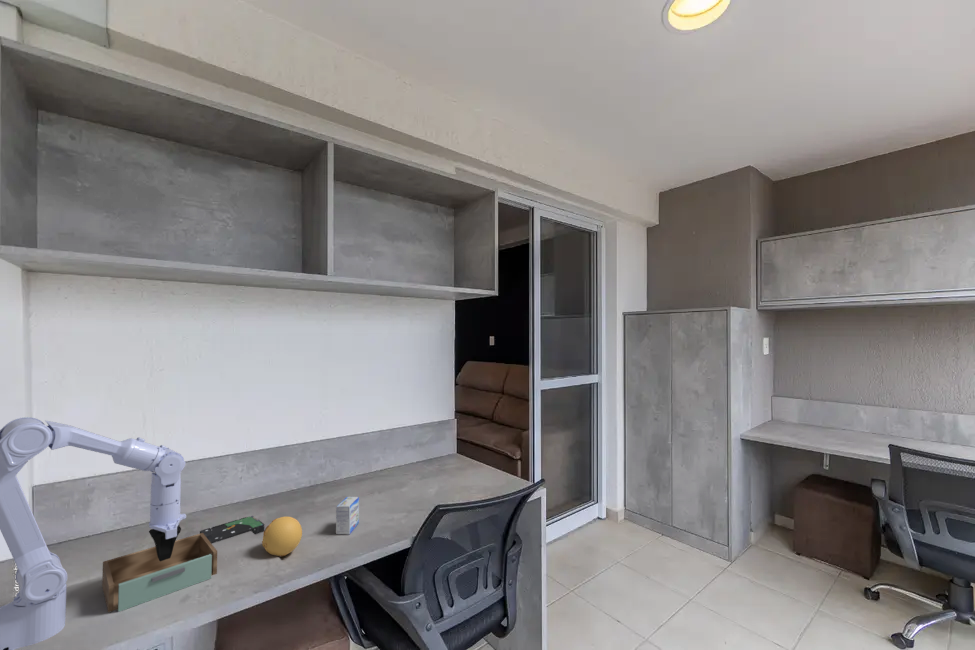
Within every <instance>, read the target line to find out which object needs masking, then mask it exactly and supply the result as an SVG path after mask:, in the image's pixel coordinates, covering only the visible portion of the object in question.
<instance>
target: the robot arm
mask: <svg viewBox="0 0 975 650" xmlns="http://www.w3.org/2000/svg"><path fill="white" fill-rule="evenodd" d="M45 423H46V424H47V425H46V424H45ZM45 423H44V422H43V421H42V420H40V419H38V418H37V417H32V416H31V417H29V416H27V417H26V416H25V417H19V418H15V419H12V420H11V421H9V422H7V423H6V424H5V425H4V426H3V427H2V428H1V429H0V532H1V534H2V537H3V539H4V541H5V543H6V545H7V548H8V550H9V552H10V554H11V556H12V558H13V561H14V563H15V566H16V568H17V569H16V572H15V581H16V583H17V584H18V587H19V591H18V592H17V594H16V595H15V597H13V600H12V601H11V602H9V603H6V604H4V605H1V606H0V650H18V649H20V648H24V647H27V646H31V645H35V644H39V643H40V642H44V641H46V640H48V639H50V638H52V637H53V636H56V635H57V634H59V633H60V632H61V631H63V629H64V628H65V626H66V615H67V614H66V613H67V611H66V610H67V608H66V607H67V586H68V585H67V581H68V573H67V571H66V569H65V568H64V567H63V565H62V563H61V558H60V557H59V555H58V554H56V553H53V552H51V550H49V548H48V545H47V543H46V541H45V539H44V536H43V534H42V531H41V529H40V528H39V527H40V526H39V525H38V523H37V520H36V518H35V515H34V514H33V511H32V509H31V507H30V504H29V501H28V500H27V498H26V495H25V493H24V490H23V489H22V487H21V484H20V481H19V480H18V477H17V475H18V474H19V472H20V471H21V470H22V469H23V468H24V466H25V465H26V464H27V463H28V462H29V461H30V460H31V459H33V458H34V457H36V456H37V455H39V454H40V453H42V452H43V451H44V450H46V449H48V447H49V449H50V450H51V451H52V450H53V451H54V450H58V449H61V448H65V447H69V446H70V447H73V448H79V449H83V450H87V451H90V452H96V453H99V454H102V455H103V454H104V455H108V456H111V458H112V460H113V463H114V464H116V465H120V466H124V467H126V468H127V467H128V468H131V469H136V470H138V471H139V470H140V471H142V472H143V471H144V472H149V471H150V472H151V483H150V505H149V507H150V508H149V522H148V528H150V530H149V531H148V533H149V535H150V537H151V539H152V540H153V542H154V547H155V546H156V551H157V556H158V559H159V561H163V560H166V559H169V558H170V557H171V555H172V551H173V547H174V543H175V541H176V540H177V538H178V536H179V534H180V533H181V531H182V527H181V526H180V524H181V522H182V520H186V518H187V514H186V513H181V498H182V496H181V495H182V494H181V493H182V491H181V490H182V489H181V488H182V476H181V475H182V471H183V470H184V468H185V467H186V463H187V462H186V461H185V459H184V456H183V455H182V454H181V453H179V452H177V451H175V450H173V449H171V448H169V447H167V446H166V445H164V444H161V445H155V444H154V443H153V444H152V443H149V442H146V439H144V438H142V437H137V438H133V437H131V438H127V439H125V440H124V439H123V440H116V439H113V438H110V437H107V436H104V435H100V434H98V433H95V432H92V431H89V430H86V429H84V428H80V427H76V426H73V425H69V424H65V423H62V422H61V423H60V422H56V421H51V420H45Z"/></svg>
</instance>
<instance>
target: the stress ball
mask: <svg viewBox="0 0 975 650" xmlns="http://www.w3.org/2000/svg"><path fill="white" fill-rule="evenodd" d="M262 533H263V535H262V541H261V545H262V548H264V549H265V551H266V552H267V553H269V554H270V555H272V556H277V557H279V558H281V557H286V556H287V555H288V554H291V552H293V551H294V550H295V549H296V548H297V547H298V545H299V544H300V543H301V540H302V537H303V528H302V524H300V522H299V520H297V519H296V518H294V517H292V516H280V517H278V518H277V517H276V518H275V519H273V520H272V521H271V522H270V523H269V524H268V525H267V526H266V527H265V528H264V532H262Z"/></svg>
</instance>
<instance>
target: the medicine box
mask: <svg viewBox="0 0 975 650" xmlns="http://www.w3.org/2000/svg"><path fill="white" fill-rule="evenodd" d="M359 524H360V497H359V496H346V497H345V498H344V499H343V500H342V501H341V502H339V504H337V506H336V507H335V533H336V535H351V534H352V533H353V531H354V530H355V528H356V527H357V526H358V525H359Z"/></svg>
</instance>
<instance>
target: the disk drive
mask: <svg viewBox="0 0 975 650" xmlns="http://www.w3.org/2000/svg"><path fill="white" fill-rule="evenodd" d="M265 529H266V527H265V524H264V523H263V522H262V521H261V520H260V519H258V518H256V517H255V516H254V515H251V516H245V517H242V518H239V519H235V520H232V521H229V522H225V523H222V524H217V525H215V526H211V527H208V528H204V529H202V530H199V534H200V533H203V534H204V535H205V536H206V537H207V539H208V540H209V541H210V543H211V544H212V545H213V544H215V543H219V542H221V541H224V540H227V539H231V538H234V537H237V536H240V535H242V534H246V533H249V532H252V534H253V535H258V534H261V533H264V531H265Z"/></svg>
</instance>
